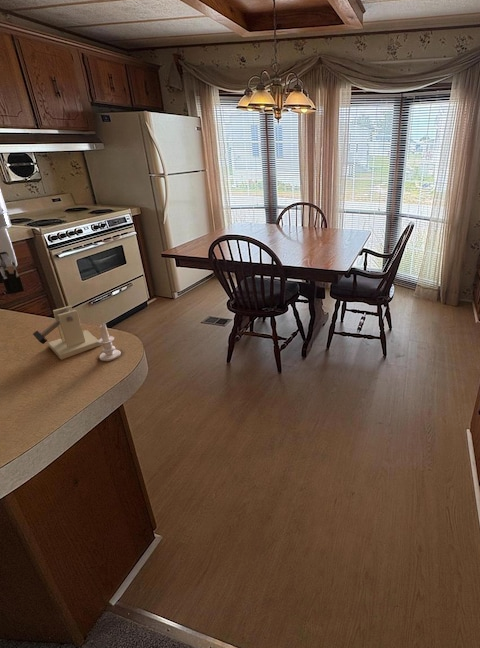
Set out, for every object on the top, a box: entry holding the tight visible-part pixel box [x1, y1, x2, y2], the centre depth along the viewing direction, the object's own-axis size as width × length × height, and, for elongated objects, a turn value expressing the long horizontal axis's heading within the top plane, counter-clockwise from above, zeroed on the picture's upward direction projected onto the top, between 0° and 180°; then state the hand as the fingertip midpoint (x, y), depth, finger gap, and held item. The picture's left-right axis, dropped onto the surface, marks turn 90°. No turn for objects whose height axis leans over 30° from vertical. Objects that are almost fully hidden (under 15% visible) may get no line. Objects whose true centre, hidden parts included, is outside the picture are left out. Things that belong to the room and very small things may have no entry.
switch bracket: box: [47, 305, 101, 360], centre depth 99 cm, size 10×10×12 cm
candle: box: [98, 323, 122, 362], centre depth 95 cm, size 5×5×10 cm
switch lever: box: [32, 309, 69, 345], centre depth 95 cm, size 10×6×2 cm, turn 141°
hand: (10, 287), depth 88 cm, fingers open, 9 cm apart
